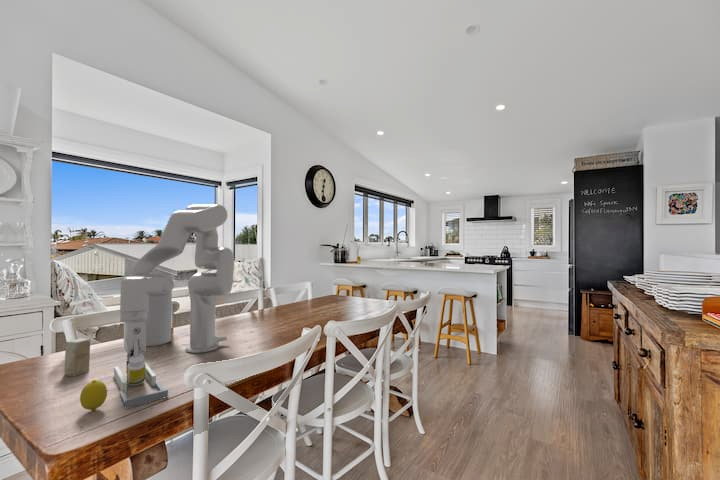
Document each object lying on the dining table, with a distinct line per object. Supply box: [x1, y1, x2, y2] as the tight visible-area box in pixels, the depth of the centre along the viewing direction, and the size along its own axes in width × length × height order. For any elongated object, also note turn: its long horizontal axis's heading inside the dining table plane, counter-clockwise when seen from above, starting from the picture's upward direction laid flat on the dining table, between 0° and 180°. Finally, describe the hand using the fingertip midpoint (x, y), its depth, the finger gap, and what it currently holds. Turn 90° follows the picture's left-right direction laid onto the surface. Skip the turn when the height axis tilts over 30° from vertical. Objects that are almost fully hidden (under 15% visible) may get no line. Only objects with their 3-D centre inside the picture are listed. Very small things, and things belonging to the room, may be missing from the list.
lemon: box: [79, 379, 108, 412], centre depth 88 cm, size 6×6×8 cm
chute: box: [113, 361, 157, 394], centre depth 107 cm, size 8×17×3 cm, turn 43°
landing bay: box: [119, 381, 169, 409], centre depth 96 cm, size 10×10×2 cm
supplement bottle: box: [126, 354, 147, 387], centre depth 104 cm, size 5×5×8 cm
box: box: [63, 337, 91, 377], centre depth 112 cm, size 5×4×11 cm
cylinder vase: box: [145, 290, 173, 347], centre depth 147 cm, size 12×12×25 cm
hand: (132, 372), depth 107 cm, fingers closed
